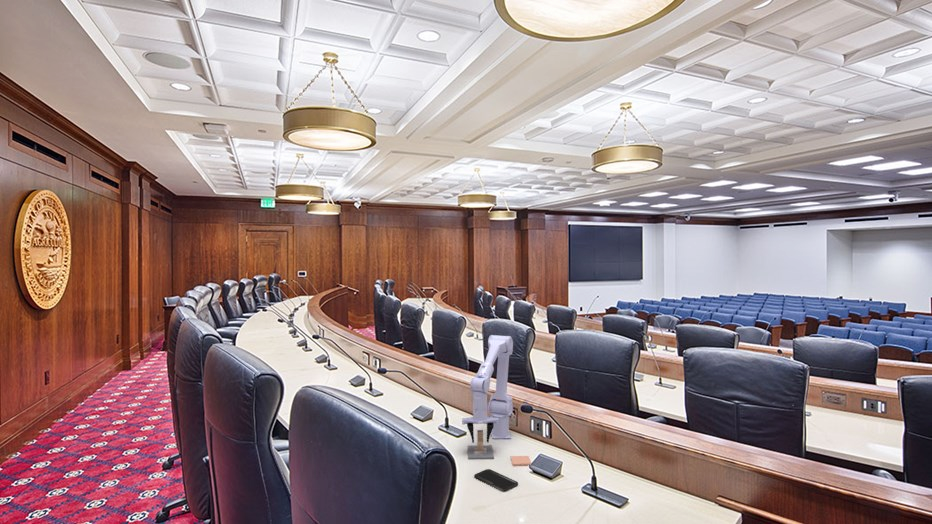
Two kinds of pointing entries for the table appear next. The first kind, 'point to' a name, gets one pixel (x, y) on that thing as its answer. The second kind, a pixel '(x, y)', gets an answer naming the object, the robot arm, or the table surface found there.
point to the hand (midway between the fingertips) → (480, 441)
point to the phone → (496, 480)
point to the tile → (520, 460)
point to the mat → (473, 456)
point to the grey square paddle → (480, 444)
